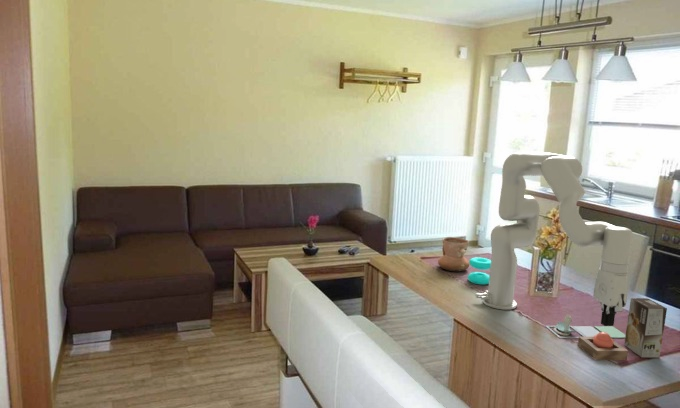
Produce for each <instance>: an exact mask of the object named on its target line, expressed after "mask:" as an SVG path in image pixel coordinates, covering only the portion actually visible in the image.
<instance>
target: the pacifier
mask: <svg viewBox="0 0 680 408" xmlns="http://www.w3.org/2000/svg"><path fill="white" fill-rule="evenodd" d="M572 321H573V320H572V316H571V315H569V314H566V315H565V317H564V321H559V322H558V323H556V326H557V327H553V328H552V330H553V331H554V332H555V333H556V334H558V335H559V336H562V337H569V335H571V333H577V332H576V331H575V330H573V329H571V327H569V326H570V324H571V323H572Z"/></svg>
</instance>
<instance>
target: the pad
mask: <svg viewBox="0 0 680 408" xmlns="http://www.w3.org/2000/svg"><path fill="white" fill-rule="evenodd" d="M593 328H595V329H596V330H597V331H599V332H605V333H608V334H609V335H610V337H611V338H612V339H625V336H626V333H624V332H622V331H620V330H619V329H618V328H616V327H615V326H614V325H613V326H604V325H602V326H599V325H597V326H596V325H594V326H593Z"/></svg>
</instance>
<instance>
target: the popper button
mask: <svg viewBox="0 0 680 408" xmlns="http://www.w3.org/2000/svg"><path fill="white" fill-rule="evenodd" d="M599 332H600V331H599ZM614 341H615V340H614V338H611V337H610V335H609V334H608V333H605V332H600V333H598V334H597V335H595V336H594V338H593V344H594V345H595V346H597V347H598V348H613V342H614Z"/></svg>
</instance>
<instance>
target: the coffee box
mask: <svg viewBox="0 0 680 408" xmlns="http://www.w3.org/2000/svg"><path fill="white" fill-rule="evenodd" d="M667 311H668V308H667V307H665V306H663V305H662V304H660V303H657V302H656V301H654V300H652V299H650V298H648V297H645V298H644V297H643V298H641V297H637V298H633V297H632V298H630V302H629V309H628V315H627V322H626V323H627V324H626V331H625V335H626V336H625V338H624V345H623V346H625V347H626V348H628V349H629V350H631V351H632V352H633V353H635V354H636V355H638V356H639V357H641V358H660V355H661V351H662V342H663V336H664V330H665V324H666V318H667Z"/></svg>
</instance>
